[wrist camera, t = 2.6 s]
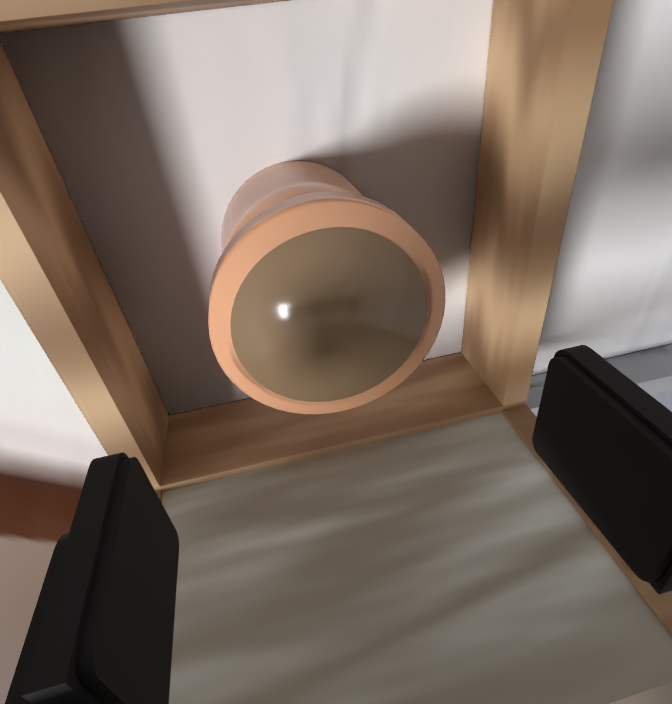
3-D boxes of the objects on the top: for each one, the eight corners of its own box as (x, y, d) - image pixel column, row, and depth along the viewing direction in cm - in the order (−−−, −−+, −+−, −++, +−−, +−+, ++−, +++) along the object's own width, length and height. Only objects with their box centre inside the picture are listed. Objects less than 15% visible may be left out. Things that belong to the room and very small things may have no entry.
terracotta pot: (189, 165, 16) (173, 230, 11) (376, 136, 17) (453, 184, 12) (234, 327, 21) (240, 435, 15) (382, 298, 21) (440, 389, 16)
